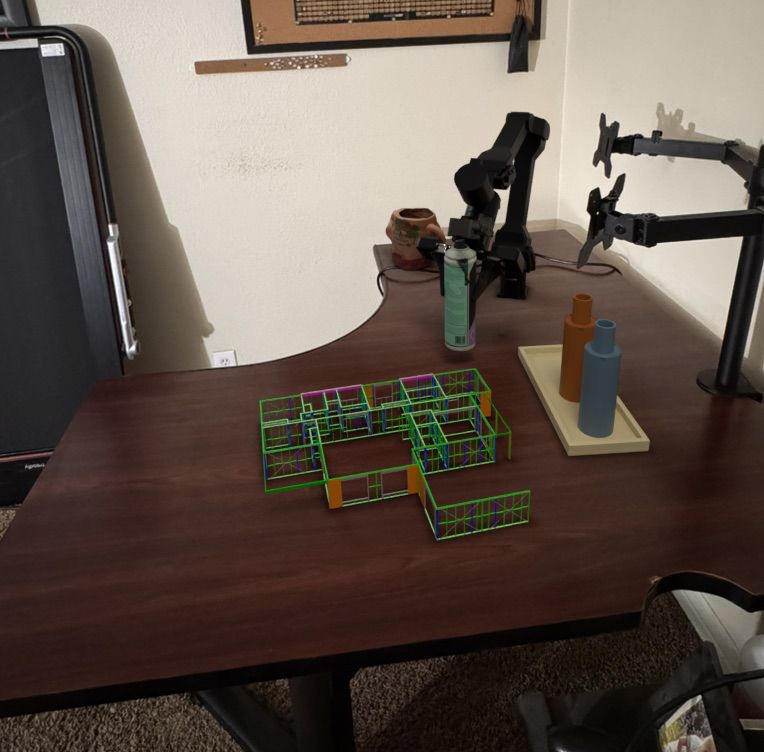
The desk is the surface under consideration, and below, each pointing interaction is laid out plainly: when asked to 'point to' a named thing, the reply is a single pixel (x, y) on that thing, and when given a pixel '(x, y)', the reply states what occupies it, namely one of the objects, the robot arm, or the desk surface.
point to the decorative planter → (411, 235)
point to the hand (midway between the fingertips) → (457, 298)
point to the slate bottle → (600, 381)
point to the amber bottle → (575, 346)
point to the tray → (576, 408)
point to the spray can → (460, 296)
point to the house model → (413, 471)
